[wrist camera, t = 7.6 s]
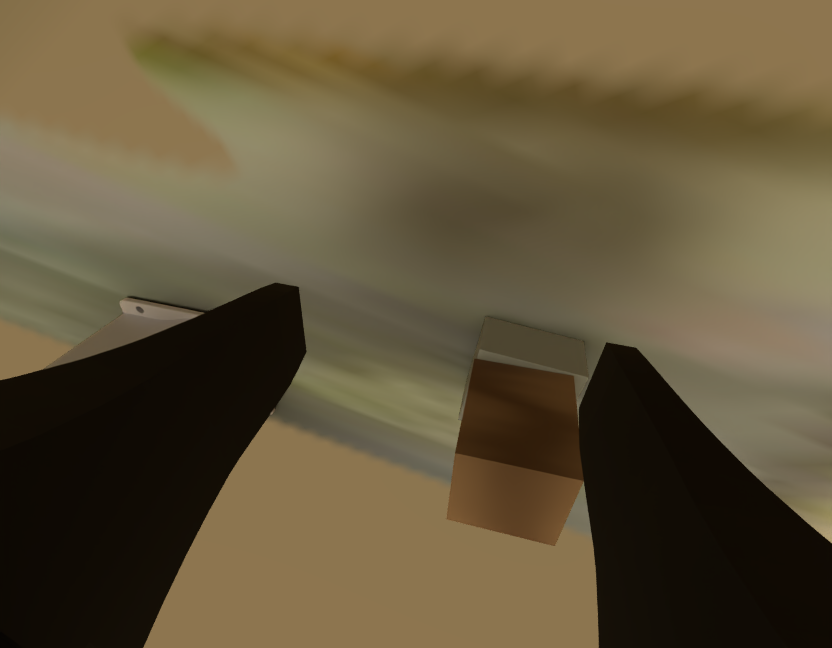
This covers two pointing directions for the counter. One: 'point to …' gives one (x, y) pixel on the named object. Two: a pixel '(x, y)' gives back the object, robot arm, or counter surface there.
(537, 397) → the walnut block
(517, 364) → the slate block
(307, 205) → the counter surface
